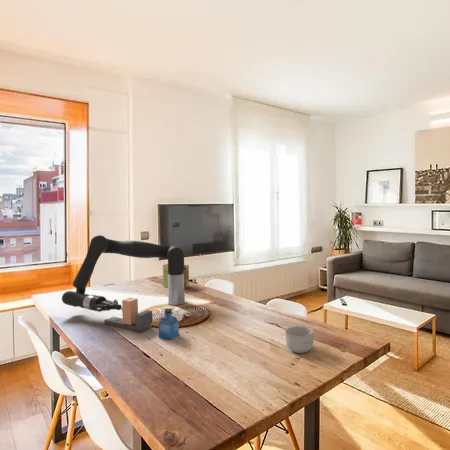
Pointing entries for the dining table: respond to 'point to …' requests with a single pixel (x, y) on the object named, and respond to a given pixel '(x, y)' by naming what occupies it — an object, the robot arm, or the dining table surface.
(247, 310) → the dining table surface
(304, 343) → the teacup
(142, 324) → the rail
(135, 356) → the dining table surface
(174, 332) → the perfume bottle
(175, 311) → the white brass knuckles
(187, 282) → the protein box
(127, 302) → the carriage
